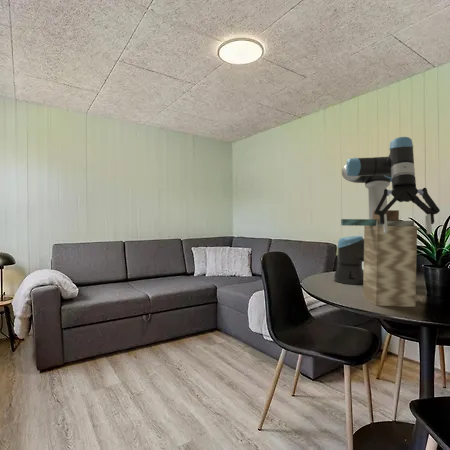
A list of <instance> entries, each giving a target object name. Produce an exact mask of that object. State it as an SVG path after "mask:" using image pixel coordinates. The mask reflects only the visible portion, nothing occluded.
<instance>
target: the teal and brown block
mask: <svg viewBox="0 0 450 450" xmlns="http://www.w3.org/2000/svg"><path fill="white" fill-rule="evenodd" d="M379 211H382V210H379ZM374 212H375V211H373V219H369V218H368V219H362V218H353V219H352V218H341V219H340V225H341V226H344V227H345V226H348V227H349V226H350V227H351V226H352V227H353V226H356V227H357V226H360V227H361V226H363V227H364V226H376V221H380V216H379V215H375V214H374ZM385 214H387V221H400V210H398V209H397V210H396V209H395V210H393V209H392V210H389V209H388V211H387V212H386V213H385Z"/></svg>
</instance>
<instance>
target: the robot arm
mask: <svg viewBox="0 0 450 450" xmlns="http://www.w3.org/2000/svg"><path fill="white" fill-rule="evenodd" d="M388 149H389V155H388V156H377V157H376V156H375V157H354V158H348V159H347V160H346V164H345V165H344V166H343V168H342V170H341V175H342V178H343V179H344V180H346V181H348V182H351V183H353V184H355V183H356V184H364V187H365V188H366V189H367V190H368V219H373V211H375V212H374V214H375V215H379V216H380V224H383V228H384V234H386V233H387V232H388V231H387V214H385V213H386V212H387V211H388V210H389V209H390V208H391V207H392V206H394V204H395V203H396V202H399V203H403V202H405V203H410V202H412V203H413V204H414V205H416V206H417V207H418V208H419V209H420V210H422V211H423V212H424V213H425V214H426V215H425V224H426V225H425V226H426V235H430V234H432V233H433V227H432V225H433V224H435V215H437V214H439V212H440V211H441V209H440V208H439V207H438V205H437V204H436V203H435V201H434V200H433V198H432V197H431V196H430V195H429V193H428V189H427V188H426V187H423V188H422V189H421V188H420V189H417V183H416V181H417V180H416V173H415V171H416V170H415V158H414V144H413V141H412V138H410V137H408V136H399V137H397V138H396V137H395V138H394V139H392V140H390V142H389V148H388ZM390 183H391V188H392V189H387V188H388V187H389V186H390ZM390 195H391V196H393V198H392V199H391V200H390V201H389V202H388V197H389V196H390ZM418 195H420V196H421V198H422V199H423V201H422V199H420V197H419V196H418ZM424 201H425V202H424ZM379 210H382V211H379ZM337 242H338V243H337V267H336V270H335V273H334V275H333V281H334V282H337V283H340V284H346V285H362V284H363V277H364V268H363V263H364V237H363V236H362V235H355V236H353V235H352V236H345V237H341V238H339V239H338V241H337Z"/></svg>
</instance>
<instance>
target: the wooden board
mask: <svg viewBox="0 0 450 450" xmlns="http://www.w3.org/2000/svg"><path fill="white" fill-rule="evenodd" d="M363 227H364V230H363V236H364V237H363V239H364V262H363V272H364V277H363V285H362V286H363V287H362V289H363V290H362V293H363V294H362V297H364V298H365V299H367V300H368V301H369V302H370V303H372V304H374V305H375V306H381V307H382V306H383V307H410V308H411V307H412V308H416V303H417V302H416V300H417V298H416V296H417V294H416V293H417V259H418V258H417V252H418V251H417V250H418V249H417V247H418V245H417V244H418V226H417V225H416V226H415V220H399V221H387V231H388V232H387V233H386V234H384V228H383V224H380V221H376V226H363Z"/></svg>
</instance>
